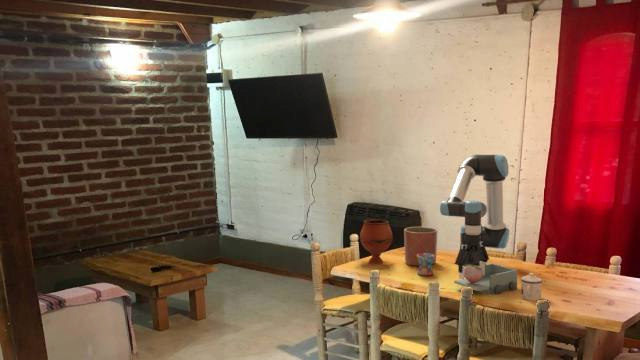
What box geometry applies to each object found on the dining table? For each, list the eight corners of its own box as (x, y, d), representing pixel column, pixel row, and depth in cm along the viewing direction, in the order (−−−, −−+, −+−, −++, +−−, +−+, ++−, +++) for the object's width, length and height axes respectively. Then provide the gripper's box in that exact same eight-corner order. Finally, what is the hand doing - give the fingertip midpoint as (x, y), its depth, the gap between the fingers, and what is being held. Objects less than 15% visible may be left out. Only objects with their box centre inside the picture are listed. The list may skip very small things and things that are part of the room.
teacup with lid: (522, 293, 248) (523, 269, 247) (543, 296, 243) (543, 272, 242) (517, 300, 238) (517, 275, 236) (538, 304, 233) (539, 278, 232)
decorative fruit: (485, 284, 252) (487, 263, 251) (477, 287, 246) (479, 266, 245) (467, 280, 258) (469, 260, 257) (459, 282, 252) (461, 262, 251)
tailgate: (466, 279, 260) (454, 280, 256) (489, 286, 247) (477, 288, 243) (465, 282, 260) (453, 283, 256) (488, 290, 247) (476, 291, 243)
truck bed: (489, 279, 271) (489, 262, 271) (519, 288, 255) (520, 270, 254) (463, 284, 262) (464, 267, 262) (493, 295, 246) (494, 276, 245)
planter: (430, 269, 293) (430, 234, 291) (398, 264, 303) (398, 230, 301) (441, 261, 309) (442, 228, 307) (411, 257, 319) (411, 225, 317)
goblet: (394, 266, 299) (394, 223, 296) (361, 267, 299) (360, 224, 296) (390, 258, 318) (390, 218, 315) (359, 258, 318) (358, 218, 316)
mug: (427, 277, 276) (427, 258, 275) (413, 274, 283) (413, 255, 282) (440, 273, 284) (440, 254, 283) (426, 270, 291) (426, 251, 290)
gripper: (485, 229, 259) (484, 271, 261) (447, 235, 246) (447, 278, 248) (497, 231, 252) (496, 274, 254) (459, 237, 240) (458, 282, 242)
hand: (471, 276), depth 251 cm, fingers open, 13 cm apart
